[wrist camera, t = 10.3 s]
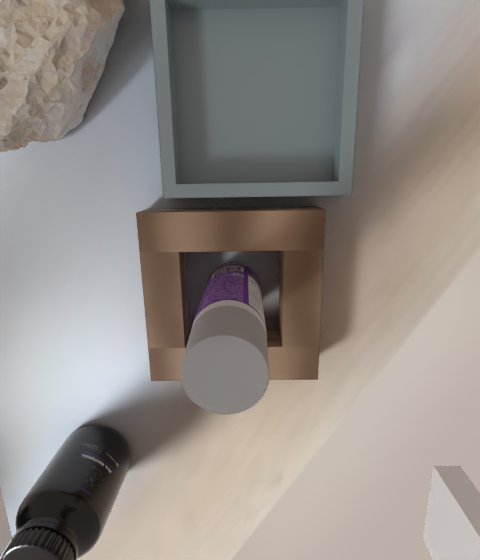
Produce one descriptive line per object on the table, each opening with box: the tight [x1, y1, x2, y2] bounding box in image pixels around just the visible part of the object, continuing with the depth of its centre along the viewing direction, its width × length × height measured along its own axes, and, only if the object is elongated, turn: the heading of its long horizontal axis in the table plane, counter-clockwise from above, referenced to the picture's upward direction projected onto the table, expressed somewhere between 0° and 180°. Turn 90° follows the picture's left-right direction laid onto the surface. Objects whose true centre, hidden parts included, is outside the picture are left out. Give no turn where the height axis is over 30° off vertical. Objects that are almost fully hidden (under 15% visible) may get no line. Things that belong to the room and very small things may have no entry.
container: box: [180, 263, 269, 414], centre depth 26 cm, size 5×5×15 cm
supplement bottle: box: [1, 425, 131, 560], centre depth 32 cm, size 7×7×12 cm
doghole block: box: [136, 206, 325, 381], centre depth 31 cm, size 14×14×4 cm
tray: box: [150, 0, 364, 198], centre depth 28 cm, size 14×14×3 cm
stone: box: [0, 0, 125, 152], centre depth 25 cm, size 8×12×10 cm, turn 136°
